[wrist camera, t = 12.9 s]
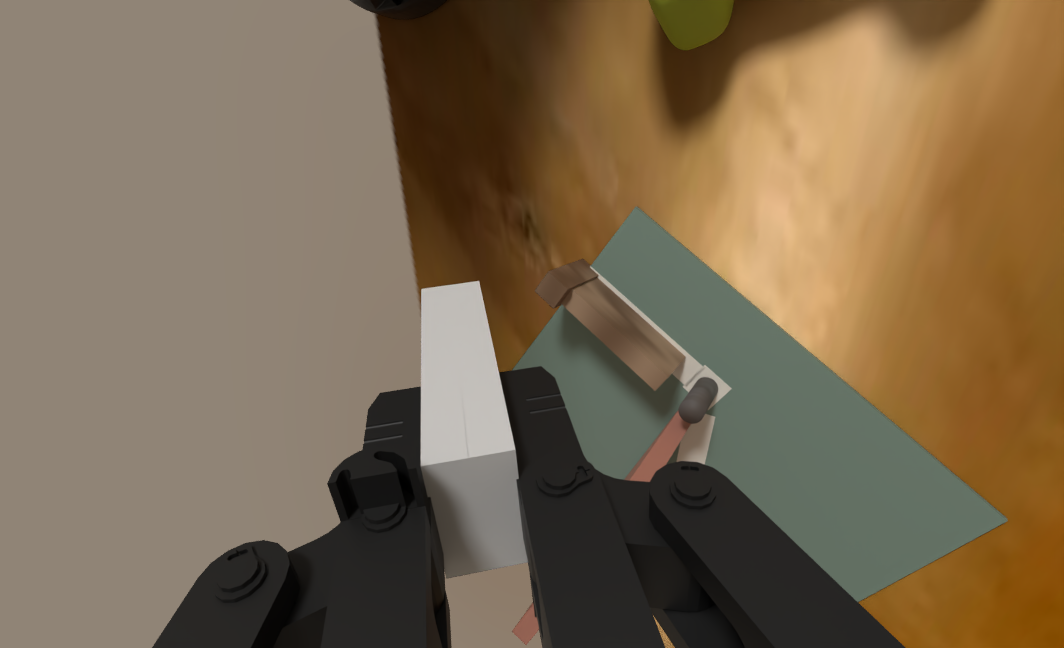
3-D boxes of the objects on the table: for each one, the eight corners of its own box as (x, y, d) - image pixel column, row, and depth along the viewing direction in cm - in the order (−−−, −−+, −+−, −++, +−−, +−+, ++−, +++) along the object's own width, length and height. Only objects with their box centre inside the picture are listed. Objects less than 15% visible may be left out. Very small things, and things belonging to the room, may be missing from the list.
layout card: (480, 412, 50) (478, 414, 50) (636, 206, 39) (635, 206, 38) (729, 669, 44) (728, 672, 44) (1006, 517, 32) (1007, 521, 32)
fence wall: (569, 276, 42) (534, 290, 38) (582, 258, 42) (548, 271, 37) (707, 401, 40) (688, 434, 35) (725, 385, 39) (707, 417, 34)
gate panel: (682, 403, 40) (618, 495, 29) (696, 414, 40) (637, 511, 29) (592, 520, 47) (511, 631, 36) (603, 530, 46) (526, 644, 35)
